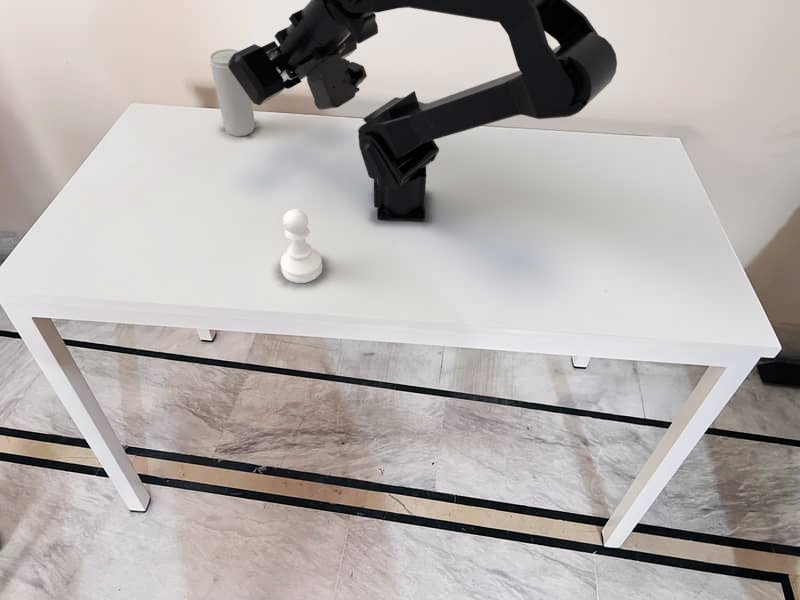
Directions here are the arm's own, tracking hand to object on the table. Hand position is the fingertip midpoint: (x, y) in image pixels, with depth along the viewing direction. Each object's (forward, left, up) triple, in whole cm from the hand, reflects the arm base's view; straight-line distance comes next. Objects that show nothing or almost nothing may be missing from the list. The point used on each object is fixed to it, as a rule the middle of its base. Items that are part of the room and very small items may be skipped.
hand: (270, 83), depth 85 cm
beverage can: (+7, -5, -11) cm, 14 cm away
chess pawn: (-7, +26, -11) cm, 29 cm away
